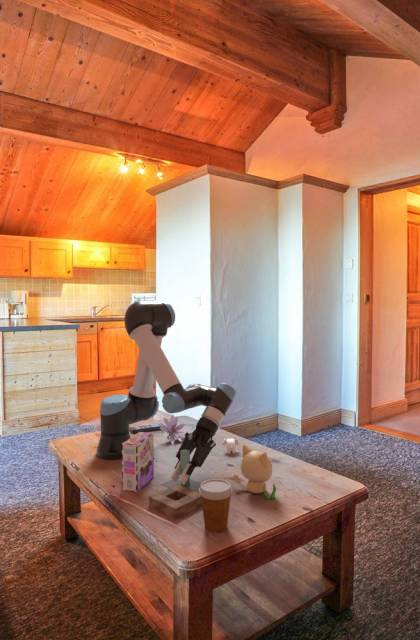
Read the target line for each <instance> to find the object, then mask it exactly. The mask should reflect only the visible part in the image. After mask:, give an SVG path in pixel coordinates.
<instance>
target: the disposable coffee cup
mask: <svg viewBox="0 0 420 640" xmlns="http://www.w3.org/2000/svg"><path fill="white" fill-rule="evenodd" d="M200 483H201V486H200V488H199V489H198V493H200V495H201V501H202V506H201V509H202V514H203V515H202V516H203V522H204V528H205V530H206V531H207V532H211V533H222V532H224V531H226V530H227V528H228V520H229V512H230V506H231V505H230V504H231V497H232V493H233V487H232V485H231V483H230V482H229V481H227V480H225V479H220V478H219V479H217V478H216V479H215V478H213V479H212V478H211V479H207V480H204V481H202V482H200Z"/></svg>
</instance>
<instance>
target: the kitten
mask: <svg viewBox="0 0 420 640" xmlns="http://www.w3.org/2000/svg"><path fill="white" fill-rule="evenodd" d="M240 471H241V474H242V476H243V477H244V478H245V479H246V480H248V481H247V482H246V484H245V483H244V482H242V481H241V480H240V477H239V476H238V474H233V475H232V480H233V481H234V482H235V484H237V485H238V486H239V487H240V488H242V489H243V490H246V491H248V492H249V493H252V494H257V495H258V494H262V493H263V494H264V495H265V498H266V500H273V499H275V498H276V492H277V488H276V485H275V484H274V483H272V486H273V489H272V492H271V493H270V495H269V494H268V493H267V492H266V490H267V488H268V487H267V484H266V482H269V481H270V480H271V478H272V476H273V464H272V461H271V459H270V458H269V456H268V454H267V452H266V451H260V450H252V449H251V448H250V447H249V446H248V445H246V444H243V445H242V459H241V463H240Z"/></svg>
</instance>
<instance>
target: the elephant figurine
mask: <svg viewBox="0 0 420 640" xmlns="http://www.w3.org/2000/svg"><path fill="white" fill-rule="evenodd" d="M239 444H240V441H239V440H238V438H237V437H235V438H226V437H224V439H223V441H222V445H223V446H226V453H227V454H228V455H234V454H236V446H239Z"/></svg>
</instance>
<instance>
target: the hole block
mask: <svg viewBox="0 0 420 640" xmlns="http://www.w3.org/2000/svg"><path fill="white" fill-rule="evenodd" d="M148 507H149V508H151V509H154V510H155V511H158V512H160V513H162V514H165V516H168V517H170V518H172V519H174V520H178V519H180V518H181V517H184V516H186V515H187V514H189V513H191V512H193V511H194V510H195V511H196V509H198V508H200V507H202V501H201V495H200V493H199V491H197V490H195V491H193V490H191V489H188V488H186V487H183V486H181V485H178V484H176V485H174V486H171V487H169V488H168V487H166V488H165V489H162V490H160V491H158V492H156V493H154V494H152V495H150V496H148Z"/></svg>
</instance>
